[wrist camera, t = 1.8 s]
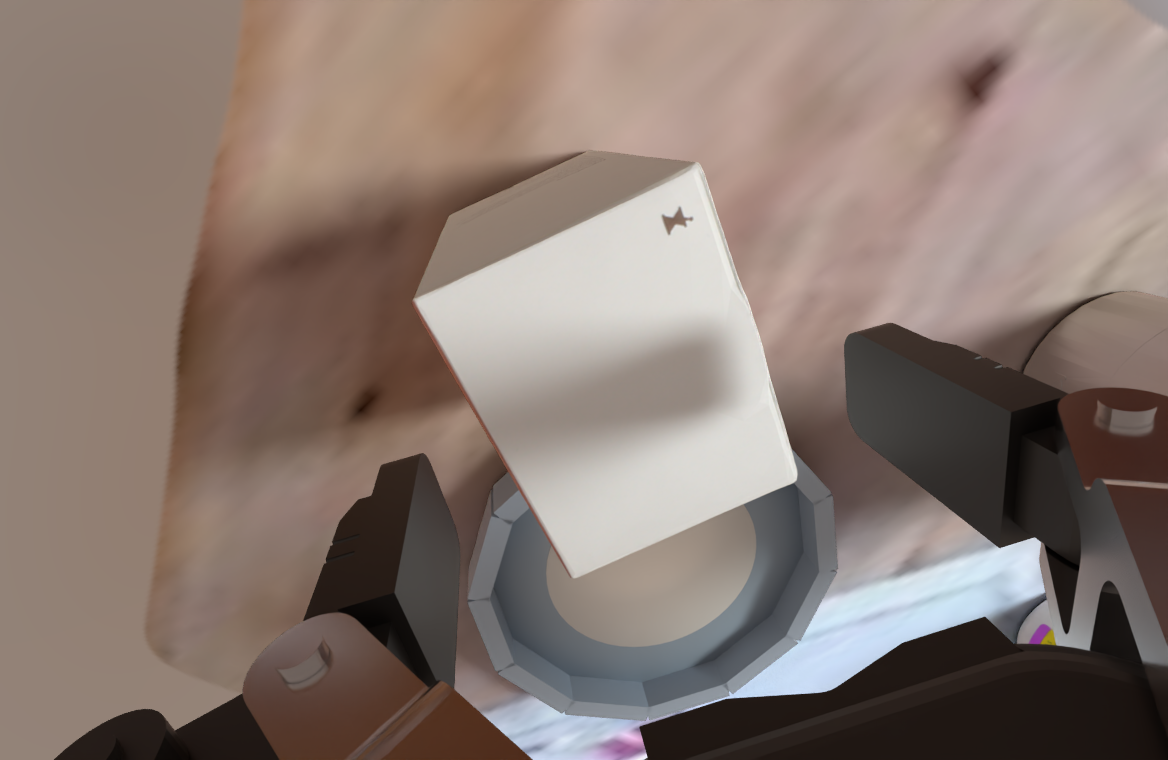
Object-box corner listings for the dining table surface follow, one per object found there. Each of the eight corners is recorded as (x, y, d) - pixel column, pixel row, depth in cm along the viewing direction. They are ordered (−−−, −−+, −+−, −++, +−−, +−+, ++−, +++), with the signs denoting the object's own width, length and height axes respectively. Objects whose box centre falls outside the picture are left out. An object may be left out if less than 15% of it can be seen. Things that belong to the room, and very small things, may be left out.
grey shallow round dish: (797, 352, 28) (825, 370, 25) (821, 627, 35) (843, 660, 33) (424, 456, 27) (418, 484, 24) (527, 717, 34) (530, 757, 32)
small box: (445, 214, 23) (400, 294, 11) (592, 146, 23) (708, 150, 11) (533, 385, 26) (571, 589, 14) (662, 326, 26) (810, 481, 14)
